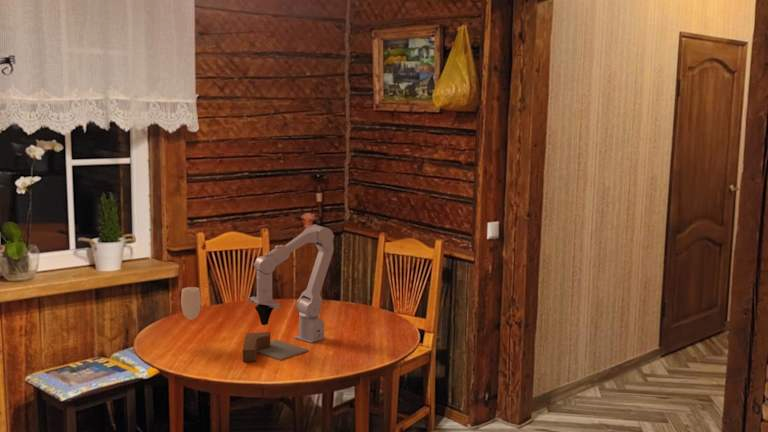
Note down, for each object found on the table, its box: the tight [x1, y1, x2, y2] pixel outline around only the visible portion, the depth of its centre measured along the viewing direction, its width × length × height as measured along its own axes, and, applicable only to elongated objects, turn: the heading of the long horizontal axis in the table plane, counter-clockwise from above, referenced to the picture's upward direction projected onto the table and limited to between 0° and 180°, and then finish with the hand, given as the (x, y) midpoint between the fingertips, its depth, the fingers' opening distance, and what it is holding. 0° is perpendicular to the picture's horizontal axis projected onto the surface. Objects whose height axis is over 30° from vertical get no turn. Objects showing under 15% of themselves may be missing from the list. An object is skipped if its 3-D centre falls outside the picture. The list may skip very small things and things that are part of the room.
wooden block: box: [242, 331, 271, 363], centre depth 276 cm, size 9×4×18 cm
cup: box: [180, 286, 202, 321], centre depth 286 cm, size 7×7×21 cm
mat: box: [257, 339, 309, 362], centre depth 281 cm, size 17×14×1 cm
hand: (264, 324), depth 284 cm, fingers closed
